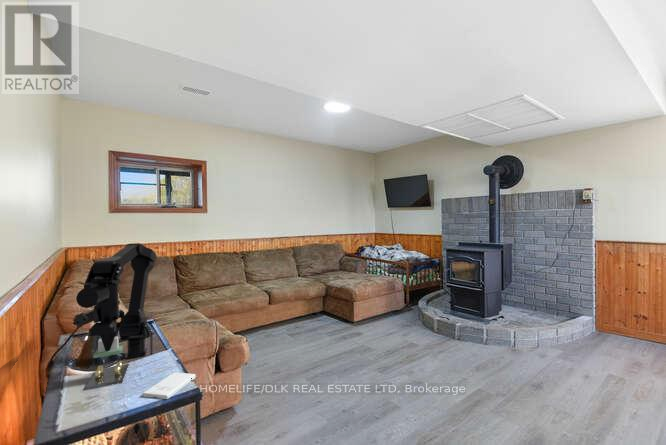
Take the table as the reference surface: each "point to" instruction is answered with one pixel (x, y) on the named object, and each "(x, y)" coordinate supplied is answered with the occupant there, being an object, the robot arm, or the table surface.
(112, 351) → the green u-channel holder
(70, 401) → the table surface
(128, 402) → the table surface
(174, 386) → the external hard drive
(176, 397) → the table surface
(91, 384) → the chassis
